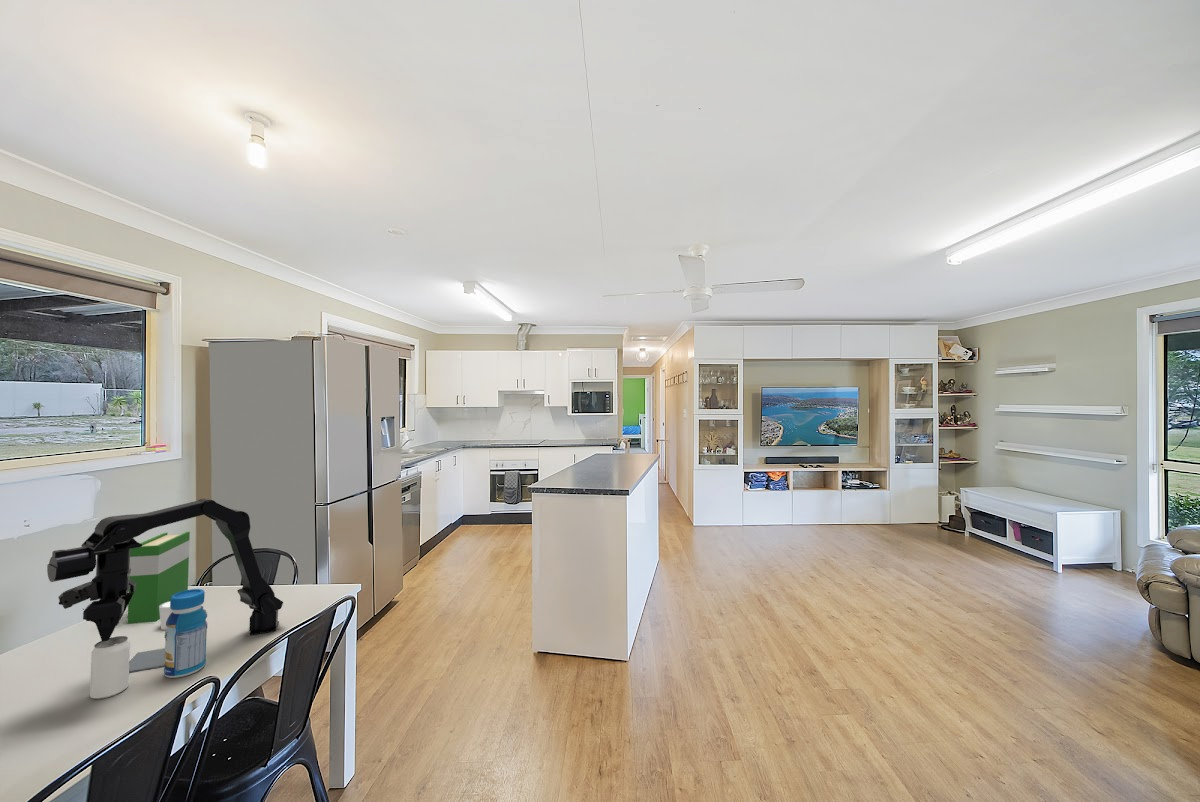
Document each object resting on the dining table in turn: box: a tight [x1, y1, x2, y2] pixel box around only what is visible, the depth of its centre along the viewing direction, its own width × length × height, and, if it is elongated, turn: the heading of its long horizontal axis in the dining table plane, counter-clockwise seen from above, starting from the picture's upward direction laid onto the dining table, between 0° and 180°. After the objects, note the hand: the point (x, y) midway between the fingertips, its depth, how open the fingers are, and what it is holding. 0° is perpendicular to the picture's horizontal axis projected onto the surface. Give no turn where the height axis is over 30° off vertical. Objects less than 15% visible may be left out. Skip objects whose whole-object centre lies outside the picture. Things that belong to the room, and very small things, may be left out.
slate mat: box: [129, 647, 165, 674], centre depth 127 cm, size 11×11×1 cm
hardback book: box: [126, 531, 191, 625], centre depth 156 cm, size 18×7×24 cm, turn 17°
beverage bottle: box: [163, 588, 209, 679], centre depth 122 cm, size 8×8×20 cm
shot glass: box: [159, 601, 173, 631], centre depth 146 cm, size 7×7×7 cm
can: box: [89, 635, 131, 700], centre depth 112 cm, size 6×6×12 cm
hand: (109, 633), depth 114 cm, fingers open, 9 cm apart
